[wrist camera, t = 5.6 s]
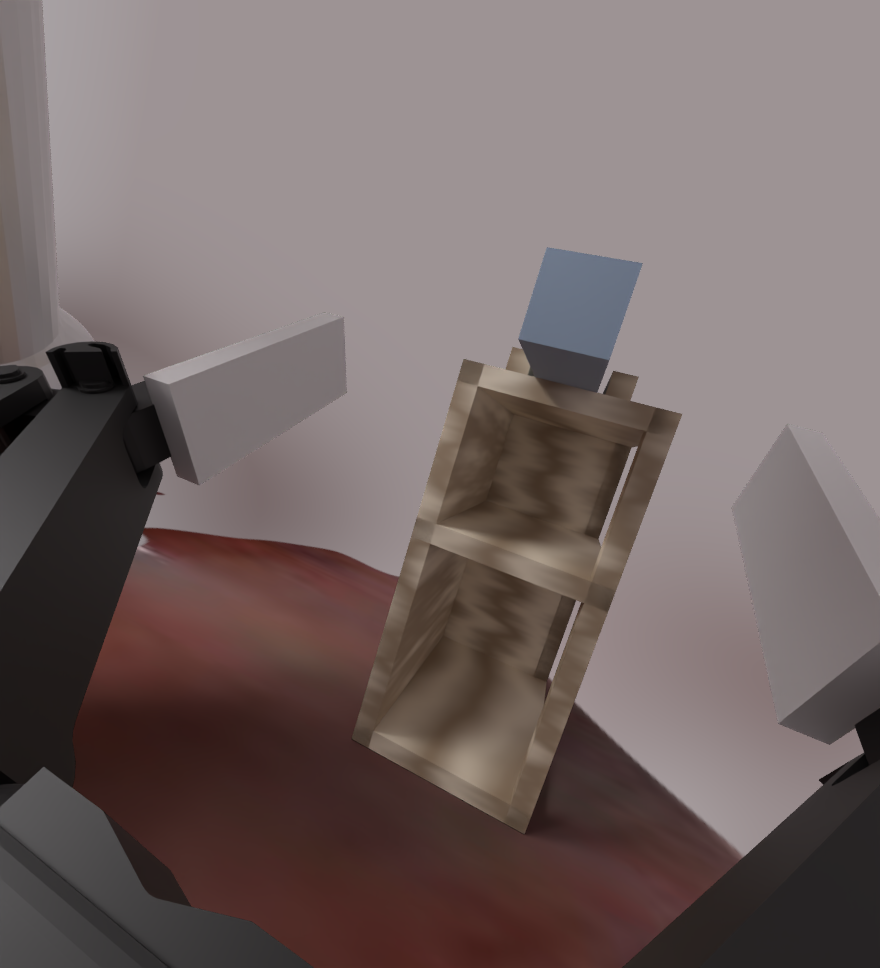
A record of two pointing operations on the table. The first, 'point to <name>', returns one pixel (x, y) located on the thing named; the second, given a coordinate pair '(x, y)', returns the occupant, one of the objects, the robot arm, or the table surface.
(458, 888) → the table surface
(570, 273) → the block
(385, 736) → the shelf stand
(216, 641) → the table surface
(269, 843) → the table surface
